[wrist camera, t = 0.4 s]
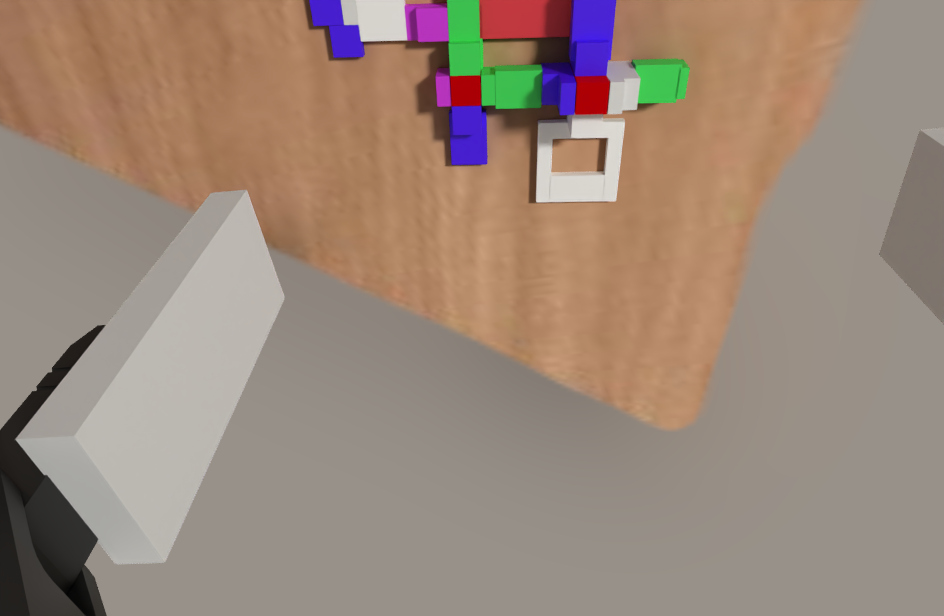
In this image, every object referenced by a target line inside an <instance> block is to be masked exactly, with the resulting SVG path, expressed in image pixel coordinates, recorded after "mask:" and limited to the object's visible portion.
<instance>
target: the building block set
mask: <svg viewBox="0 0 944 616" xmlns="http://www.w3.org/2000/svg"><path fill="white" fill-rule="evenodd" d="M309 1H310V7H311V13H312V19H313V25H314V26H329V29H330V36H331V42H332V49H333V55H334V58H336V57H363V56H364V55H365V53H364V45H363V41H400V40H418V42H436V41H449V63H450V68H438V69H437V73H436V91H437V106H438V107H442V106H451V102H452V110H449V122H450V141H451V159H452V165H477V164H487V123H486V109H482V106H488V105H495V99H496V109H513V108H541V102H542V105H558V109H559V114H560V115H567V119H560V120H538V139H537V171H536V202H589V201H616V196H617V188H618V179H619V170H620V161H621V153H622V144H623V135H624V126H625V120H624V118H611V119H609V118H607V119H603V114H622V110H637V103H676V99H685V93H686V87H687V82H688V76H689V70H690V68H689V67H688V65H687V64H686V62H685V61H684V60H678V59H646V60H632V64H631V62H630V61H608V60H610V59H611V49H612V38H613V28H614V17H615V7H616V0H447V3H432V4H406V3H405V0H309ZM538 37H570V39H569V58H570V63H569V62H563V63H541V65H507V66H495V67H483V39H500V38H538ZM481 88H482V95H481ZM569 138H607V141H606V152H605V162H604V171H599V172H551V163H552V141H553V139H569Z"/></svg>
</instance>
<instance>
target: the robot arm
mask: <svg viewBox="0 0 944 616" xmlns="http://www.w3.org/2000/svg"><path fill="white" fill-rule="evenodd" d="M879 255H880V256H881V257H882V258H883V259H884V260H885V261H886V263H888V265H889V266H890V267H891V268H892V269H893V270H894V271H895V272H896V273H897V274H898V275H899V277H900V278H901V279H902V280H903V281H904V282H905V283H906V284H907V285H908V286H909V287H910V288H911V290H912V291H913V292H914V293H915V294H916V295H917V296H918V297H919V298H920V299H921V300H922V301H923V303H924V304H925V305H926V306H927V307H928V308H929V309H930V310H931V311H932V312H933V313H934V314H935V315H936V316H937V318H938V319H939V320H940V321H941V322H942V323H943V324H944V128H936V129H924V130H920V131H919V134H918V138H917V141H916V143H915V147H914V150H913V153H912V156H911V159H910V162H909V165H908V168H907V171H906V174H905V177H904V180H903V183H902V186H901V189H900V192H899V195H898V198H897V201H896V204H895V208H894V210H893V214H892V217H891V219H890V223H889V226H888V229H887V232H886V235H885V238H884V241H883V244H882V247H881V250H880V253H879ZM284 299H285V297H284V294H283V291H282V288H281V285H280V283H279V280H278V277H277V274H276V271H275V269H274V266H273V263H272V260H271V257H270V254H269V251H268V249H267V246H266V243H265V240H264V237H263V234H262V232H261V229H260V226H259V223H258V220H257V217H256V215H255V212H254V209H253V206H252V203H251V200H250V198H249V195H248V192H247V190H239V191H228V192H217V193H211V194H210V195H209V196H208V198H207V199H206V200H205V201H204V203H203V204H202V205H201V206H200V208H199V209H198V210H197V211H196V213H195V214H194V215H193V216H192V218H191V219H190V220H189V221H188V223H187V224H186V225H185V227H184V228H183V229H182V230H181V231H180V233H179V234H178V235H177V237H176V238H175V239H174V240H173V242H172V243H171V244H170V245H169V247H168V248H167V249H166V250H165V252H164V253H163V254H162V255H161V257H160V258H159V259H158V261H157V262H156V263H155V264H154V265H153V267H152V268H151V269H150V270H149V272H148V273H147V274H146V276H145V277H144V278H143V279H142V281H141V282H140V283H139V284H138V286H137V287H136V288H135V289H134V291H133V292H132V293H131V294H130V296H129V297H128V298H127V299H126V301H125V302H124V303H123V304H122V306H121V307H120V308H119V309H118V311H117V312H116V313H115V315H114V316H113V317H112V318H111V320H110V321H109V322H108V323H107V325H101V326H97V327H95V328H94V329H93V330H91V331H90V332H88V333H87V334H86V335H85V336H83V337H82V338H80V339H79V340H78V341H76V342H75V343H74V344H72V345H71V346H70V347H69V348H68V349H67V351H66V352H65V353H64V354H63V355H62V357H61V358H60V359H59V360H58V361H57V362H56V364H55V365H54V366H53V367H52V372H51V373H47V375H46V376H45V377H44V378H43V379H42V381H41V382H40V383H39V384H38V385H37V391H32V392H31V394H30V395H29V396H28V397H27V399H26V400H25V401H24V402H23V403H22V405H21V406H20V407H19V408H18V409H17V411H16V412H15V413H14V414H13V415H12V417H11V418H10V419H9V420H8V421H7V423H6V424H5V425H4V426H3V427H2V429H1V430H0V616H106V612H105V609H104V606H103V603H102V600H101V596H100V593H99V590H98V587H97V584H96V581H95V578H94V576H93V575H92V574H91V572H90V571H89V570H88V568H87V567H86V566H85V565H84V564H85V562H86V560H87V559H88V557H89V555H90V553H91V552H92V550H93V548H94V546H95V544H96V543H97V542H98V543H99V544H100V545H101V547H102V548H103V549H104V550H105V552H106V553H107V554H108V555H109V557H110V558H111V559H112V560H113V561H114V563H115V564H135V563H136V564H138V563H164V562H165V561H166V559H167V557H168V555H169V552H170V550H171V548H172V546H173V544H174V541H175V539H176V537H177V535H178V533H179V530H180V528H181V526H182V524H183V521H184V519H185V517H186V515H187V513H188V510H189V508H190V506H191V504H192V501H193V499H194V497H195V495H196V493H197V491H198V488H199V486H200V484H201V482H202V480H203V477H204V475H205V473H206V471H207V469H208V466H209V464H210V462H211V459H212V458H213V455H214V453H215V451H216V449H217V446H218V444H219V442H220V440H221V438H222V435H223V433H224V431H225V429H226V427H227V424H228V422H229V420H230V418H231V416H232V413H233V411H234V409H235V407H236V404H237V402H238V400H239V398H240V396H241V393H242V391H243V389H244V387H245V385H246V383H247V380H248V378H249V376H250V374H251V371H252V369H253V367H254V365H255V362H256V361H257V358H258V356H259V354H260V352H261V350H262V347H263V345H264V343H265V341H266V338H267V336H268V334H269V332H270V330H271V327H272V325H273V323H274V321H275V319H276V316H277V314H278V312H279V310H280V308H281V305H282V303H283V301H284Z"/></svg>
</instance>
